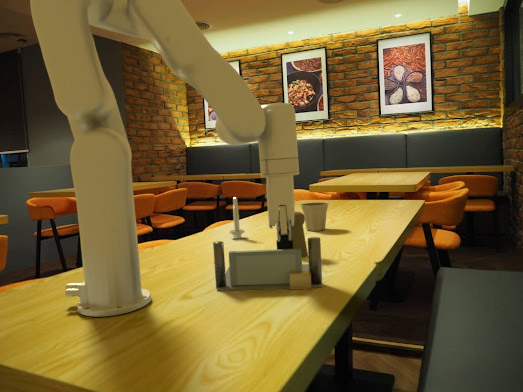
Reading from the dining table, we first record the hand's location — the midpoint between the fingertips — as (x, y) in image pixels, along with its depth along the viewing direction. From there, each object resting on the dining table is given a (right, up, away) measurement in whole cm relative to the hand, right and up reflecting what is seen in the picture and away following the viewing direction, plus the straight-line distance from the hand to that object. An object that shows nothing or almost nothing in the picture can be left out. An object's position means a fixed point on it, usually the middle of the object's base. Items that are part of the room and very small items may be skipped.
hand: (285, 259), depth 84 cm
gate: (-4, -4, -2) cm, 6 cm away
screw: (-12, -1, +49) cm, 50 cm away
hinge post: (-13, -5, -1) cm, 14 cm away
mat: (-3, -4, +4) cm, 6 cm away
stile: (+4, -5, -3) cm, 7 cm away
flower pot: (+13, +1, +56) cm, 57 cm away
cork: (+4, -2, +21) cm, 22 cm away
